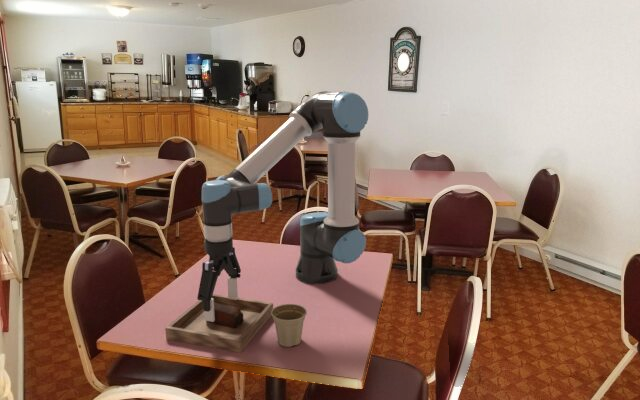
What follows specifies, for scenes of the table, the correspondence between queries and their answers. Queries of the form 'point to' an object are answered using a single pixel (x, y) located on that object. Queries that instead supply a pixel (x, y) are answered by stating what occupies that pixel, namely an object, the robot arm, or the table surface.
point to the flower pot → (289, 323)
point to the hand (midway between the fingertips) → (221, 309)
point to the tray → (218, 336)
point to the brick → (227, 315)
